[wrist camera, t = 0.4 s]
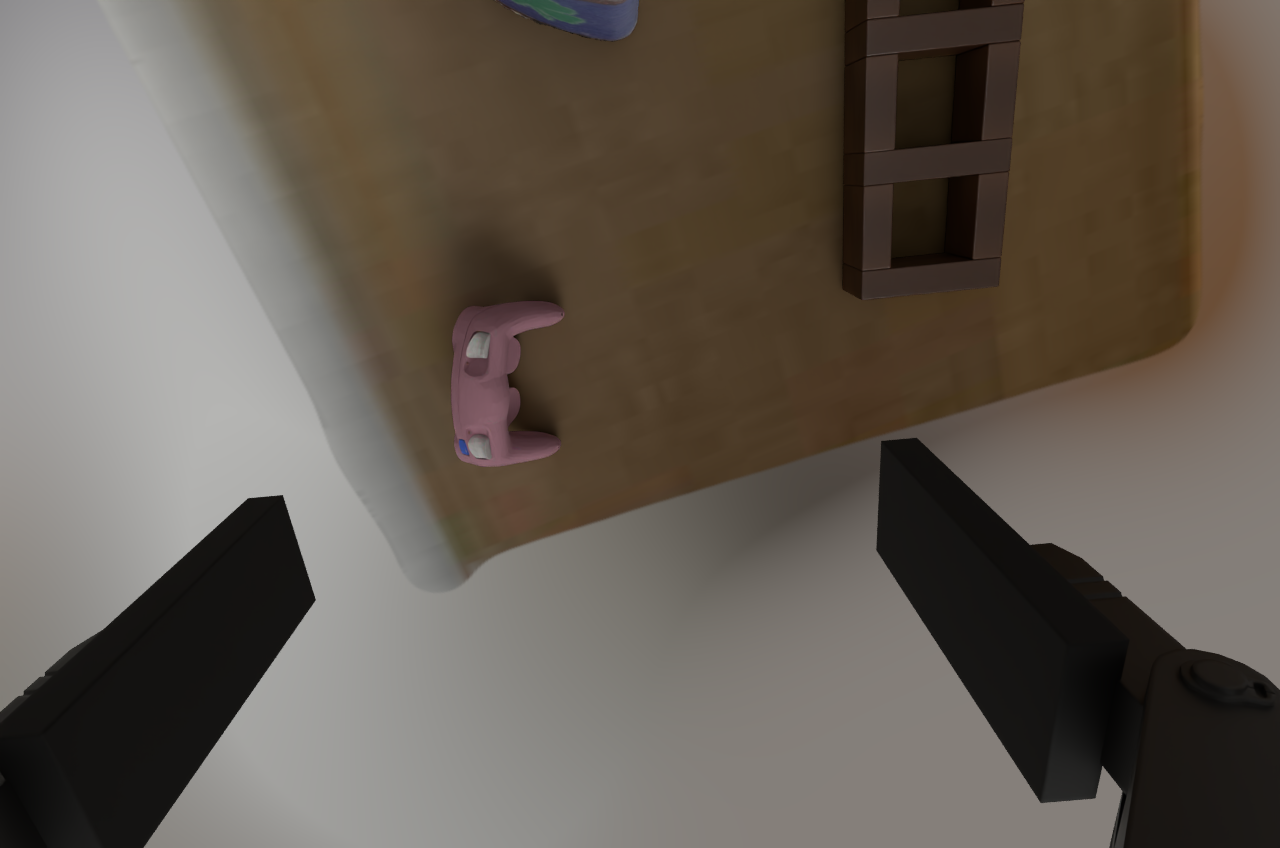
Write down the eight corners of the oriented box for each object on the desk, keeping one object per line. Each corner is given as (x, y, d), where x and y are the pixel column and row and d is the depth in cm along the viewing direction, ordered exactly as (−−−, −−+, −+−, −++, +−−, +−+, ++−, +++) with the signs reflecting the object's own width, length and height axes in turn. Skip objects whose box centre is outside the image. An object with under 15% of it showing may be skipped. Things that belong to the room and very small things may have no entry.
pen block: (845, -104, 34) (869, -134, 30) (998, -121, 34) (1038, -152, 30) (842, 289, 41) (861, 300, 37) (969, 277, 41) (999, 286, 37)
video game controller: (508, 289, 42) (429, 305, 36) (572, 299, 40) (500, 318, 34) (508, 438, 45) (436, 475, 39) (567, 453, 43) (501, 495, 37)
